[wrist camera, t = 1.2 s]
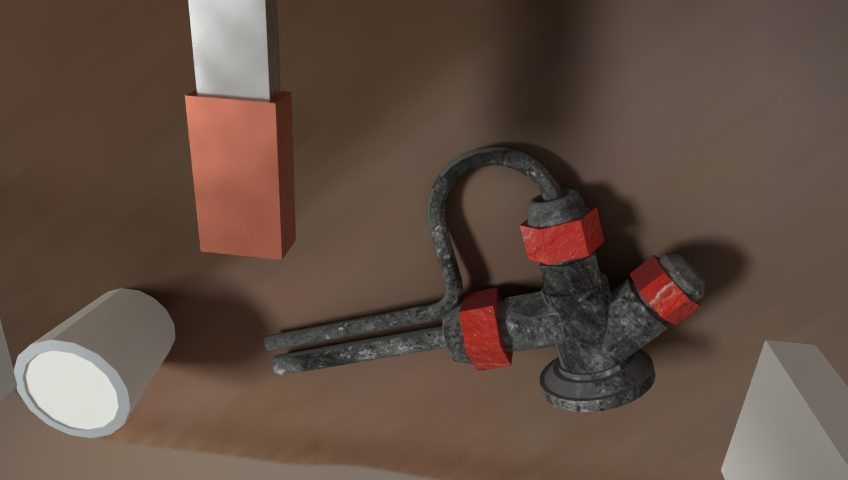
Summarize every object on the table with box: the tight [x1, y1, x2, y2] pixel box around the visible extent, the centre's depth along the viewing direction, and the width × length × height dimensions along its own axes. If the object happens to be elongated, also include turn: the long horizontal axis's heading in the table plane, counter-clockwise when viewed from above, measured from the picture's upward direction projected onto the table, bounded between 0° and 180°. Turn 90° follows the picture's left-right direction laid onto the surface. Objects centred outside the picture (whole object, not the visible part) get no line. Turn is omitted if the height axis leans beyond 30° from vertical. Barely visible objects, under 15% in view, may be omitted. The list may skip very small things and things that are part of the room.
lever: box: [185, 0, 296, 260], centre depth 22 cm, size 16×4×2 cm, turn 177°
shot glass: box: [14, 288, 175, 438], centre depth 40 cm, size 7×7×7 cm
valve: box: [264, 147, 705, 412], centre depth 37 cm, size 6×26×15 cm
